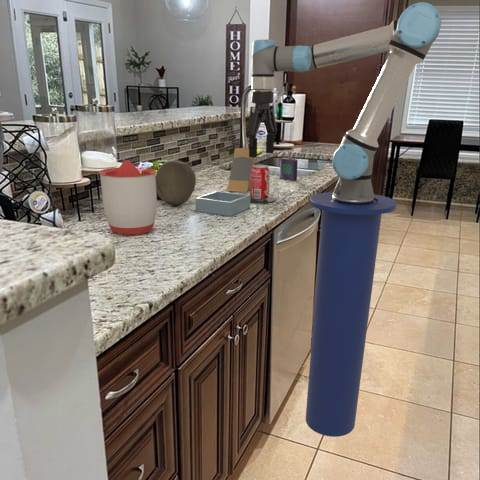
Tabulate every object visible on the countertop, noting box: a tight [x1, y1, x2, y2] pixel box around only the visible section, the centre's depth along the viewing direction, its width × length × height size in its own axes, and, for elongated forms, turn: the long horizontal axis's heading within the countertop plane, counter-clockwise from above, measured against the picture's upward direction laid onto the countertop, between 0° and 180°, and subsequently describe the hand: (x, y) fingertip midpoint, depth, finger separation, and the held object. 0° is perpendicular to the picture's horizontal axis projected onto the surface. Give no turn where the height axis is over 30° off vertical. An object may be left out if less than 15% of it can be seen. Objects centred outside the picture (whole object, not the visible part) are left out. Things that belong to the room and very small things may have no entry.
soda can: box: [249, 164, 271, 201], centre depth 183 cm, size 7×7×12 cm
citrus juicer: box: [98, 159, 158, 236], centre depth 143 cm, size 16×17×20 cm
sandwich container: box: [226, 147, 256, 193], centre depth 203 cm, size 9×15×15 cm, turn 168°
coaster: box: [250, 196, 275, 204], centre depth 186 cm, size 11×11×1 cm
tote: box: [194, 190, 251, 217], centre depth 170 cm, size 14×14×4 cm
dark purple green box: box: [279, 154, 299, 182], centre depth 225 cm, size 9×3×11 cm, turn 46°
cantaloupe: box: [155, 160, 197, 207], centre depth 174 cm, size 14×14×15 cm
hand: (261, 155), depth 179 cm, fingers open, 13 cm apart
